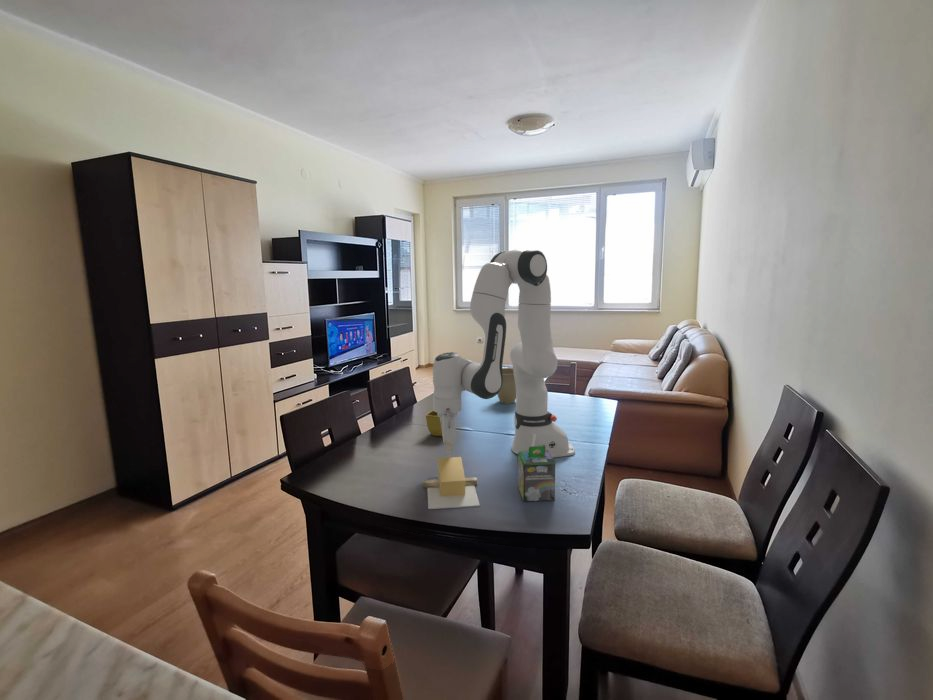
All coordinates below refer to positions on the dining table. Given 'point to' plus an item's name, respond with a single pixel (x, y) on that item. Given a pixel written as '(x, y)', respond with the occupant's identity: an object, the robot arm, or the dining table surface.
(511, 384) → the plant pot
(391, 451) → the dining table surface
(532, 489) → the chalk box
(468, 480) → the beech kerb
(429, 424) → the flower pot
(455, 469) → the ochre block
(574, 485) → the dining table surface
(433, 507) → the felt mat
